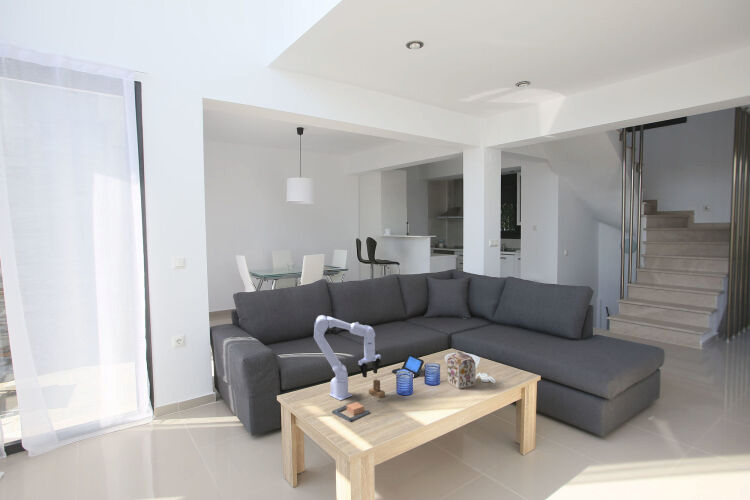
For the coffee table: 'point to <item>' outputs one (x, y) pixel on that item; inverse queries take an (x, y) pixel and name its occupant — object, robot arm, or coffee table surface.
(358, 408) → the tile
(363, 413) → the frame
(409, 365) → the handheld game console
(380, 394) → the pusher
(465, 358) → the decorative jar
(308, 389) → the coffee table surface
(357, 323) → the robot arm
